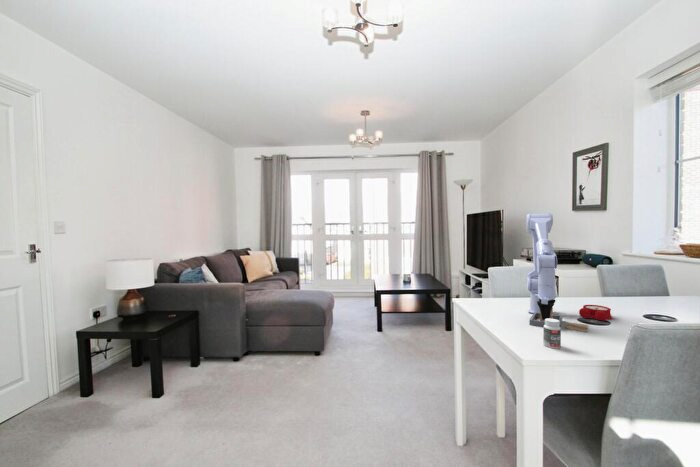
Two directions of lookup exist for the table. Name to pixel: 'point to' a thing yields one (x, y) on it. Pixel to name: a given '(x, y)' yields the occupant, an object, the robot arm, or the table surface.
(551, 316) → the block
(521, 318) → the table surface
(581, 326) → the walnut pad
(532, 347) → the table surface
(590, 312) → the alarm clock
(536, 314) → the gray rectangular frame
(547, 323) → the pill bottle
